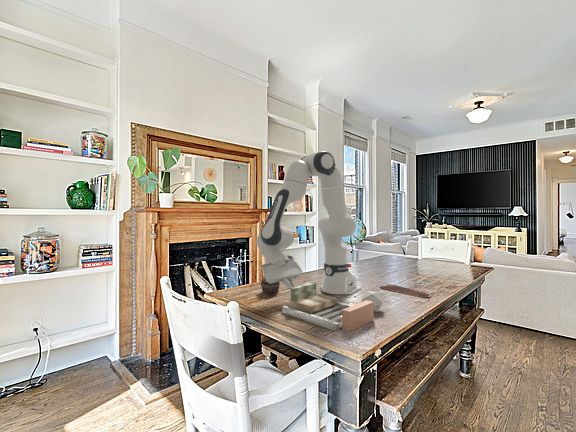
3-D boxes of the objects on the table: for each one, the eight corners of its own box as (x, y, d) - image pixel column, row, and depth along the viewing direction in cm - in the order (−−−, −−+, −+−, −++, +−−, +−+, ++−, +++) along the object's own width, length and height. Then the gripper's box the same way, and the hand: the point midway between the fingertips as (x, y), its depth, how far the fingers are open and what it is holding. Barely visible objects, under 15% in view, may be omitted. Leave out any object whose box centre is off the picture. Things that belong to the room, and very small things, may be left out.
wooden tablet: (436, 293, 154) (426, 294, 148) (436, 298, 154) (426, 299, 148) (388, 283, 175) (378, 284, 168) (388, 287, 174) (377, 288, 168)
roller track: (316, 301, 143) (316, 296, 143) (369, 316, 124) (369, 310, 124) (282, 312, 128) (282, 306, 128) (336, 331, 109) (336, 324, 109)
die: (373, 317, 125) (387, 297, 126) (355, 303, 129) (369, 284, 130) (375, 318, 132) (388, 299, 133) (357, 305, 136) (370, 286, 137)
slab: (314, 298, 140) (314, 282, 140) (336, 304, 132) (336, 286, 132) (288, 306, 129) (289, 288, 129) (311, 313, 120) (311, 294, 120)
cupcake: (283, 293, 156) (283, 273, 156) (264, 296, 152) (264, 275, 151) (275, 289, 164) (275, 270, 164) (257, 291, 160) (257, 271, 160)
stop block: (366, 318, 122) (366, 300, 122) (373, 320, 120) (373, 301, 119) (342, 329, 110) (342, 309, 110) (349, 331, 108) (349, 311, 108)
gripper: (263, 260, 136) (278, 287, 129) (295, 256, 151) (311, 279, 144) (256, 269, 139) (270, 295, 133) (289, 264, 154) (303, 287, 147)
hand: (292, 287), depth 138 cm, fingers closed
